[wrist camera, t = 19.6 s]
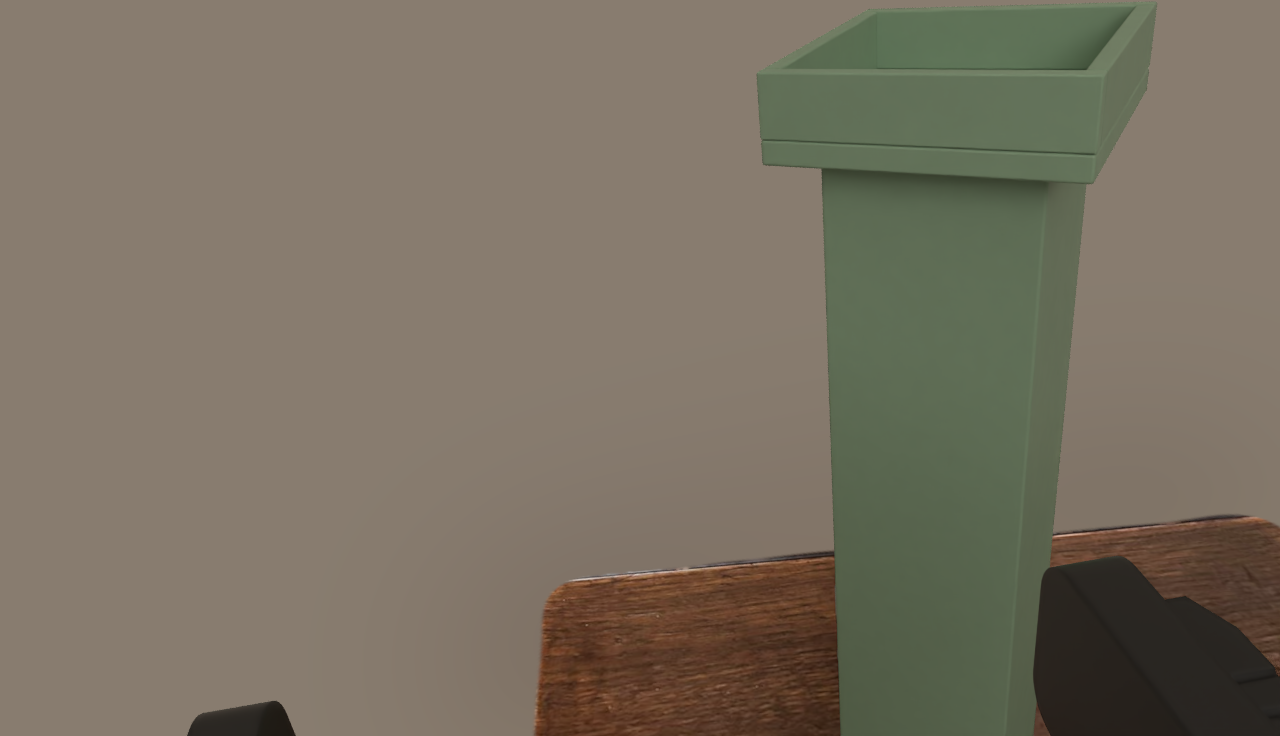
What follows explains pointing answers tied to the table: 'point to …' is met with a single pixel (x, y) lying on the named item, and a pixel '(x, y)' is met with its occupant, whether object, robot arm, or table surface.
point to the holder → (950, 328)
